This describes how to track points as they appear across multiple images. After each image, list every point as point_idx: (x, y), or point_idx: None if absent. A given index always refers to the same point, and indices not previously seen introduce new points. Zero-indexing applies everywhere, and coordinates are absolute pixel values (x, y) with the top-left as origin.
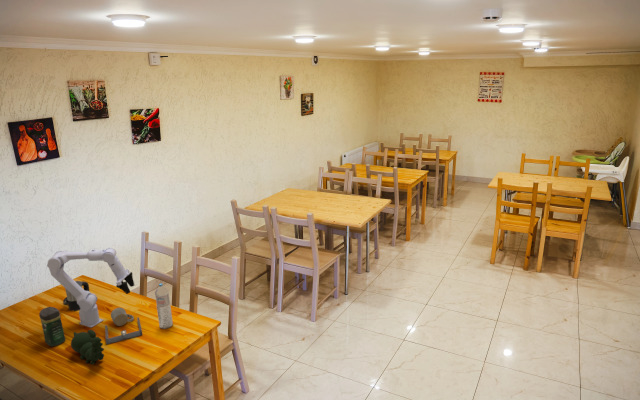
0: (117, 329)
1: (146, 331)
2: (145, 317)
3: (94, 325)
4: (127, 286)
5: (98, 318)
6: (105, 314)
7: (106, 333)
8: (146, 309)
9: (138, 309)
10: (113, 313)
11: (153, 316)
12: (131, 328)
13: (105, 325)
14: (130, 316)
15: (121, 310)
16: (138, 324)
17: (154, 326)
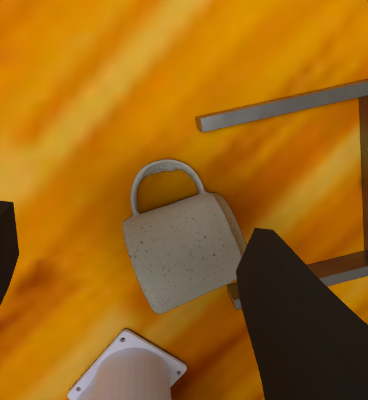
0: (249, 234)
1: (338, 55)
2: (154, 80)
3: (172, 356)
4: (354, 331)
5: (137, 361)
6: (52, 334)
7: (326, 281)
8: (33, 84)
9: (22, 145)
10: (191, 298)
11: (156, 19)
12: (267, 156)
13: (236, 306)
14: (138, 183)
15: (179, 253)
16: (300, 109)
17: (298, 2)
